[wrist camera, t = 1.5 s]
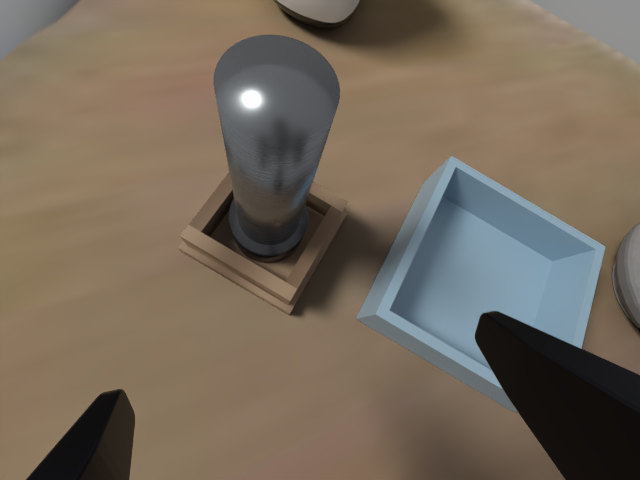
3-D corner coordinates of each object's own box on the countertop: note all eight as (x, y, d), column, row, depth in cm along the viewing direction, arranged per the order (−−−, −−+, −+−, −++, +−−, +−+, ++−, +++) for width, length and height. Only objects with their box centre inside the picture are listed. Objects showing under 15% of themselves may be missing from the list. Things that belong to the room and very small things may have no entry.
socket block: (344, 217, 24) (356, 200, 21) (288, 315, 21) (292, 311, 19) (249, 160, 24) (248, 136, 21) (181, 251, 21) (169, 238, 19)
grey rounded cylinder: (315, 218, 23) (381, 73, 10) (280, 276, 21) (308, 185, 9) (257, 184, 23) (253, -2, 10) (217, 239, 21) (158, 96, 9)
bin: (555, 260, 26) (605, 246, 22) (511, 410, 22) (563, 425, 18) (423, 182, 26) (451, 155, 22) (355, 318, 22) (375, 314, 18)
